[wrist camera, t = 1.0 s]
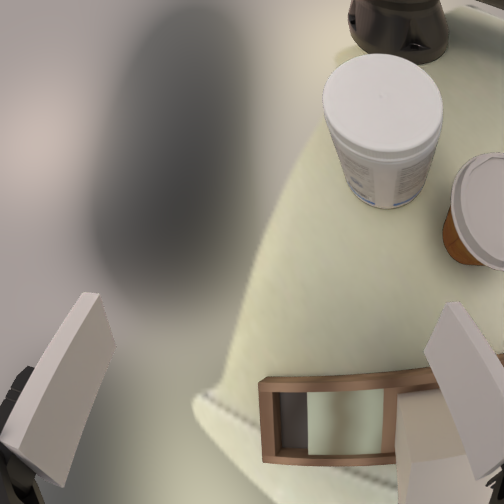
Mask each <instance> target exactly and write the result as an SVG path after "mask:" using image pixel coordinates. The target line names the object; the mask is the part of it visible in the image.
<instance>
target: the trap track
mask: <svg viewBox="0 0 504 504" xmlns="http://www.w3.org/2000/svg"><path fill="white" fill-rule="evenodd" d="M496 356H497V357H498V359H499V361H500V362H501V364H502V365H503V367H504V353H503V354H498V355H496ZM438 388H440V387H439V385H438V383H437V380H436V378H435V376H434V374H433V372H432V369H431V367H425V368H418V369H409V370H401V371H391V372H381V373H369V374H355V375H337V376H310V377H266V378H264V379H263V380H261V381H260V382H258V391H259V409H260V426H261V443H262V461H263V463H272V464H284V465H300V466H370V465H386V464H396V453H395V434H396V418H397V394H400V393H409V392H417V391H425V390H432V389H438Z"/></svg>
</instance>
